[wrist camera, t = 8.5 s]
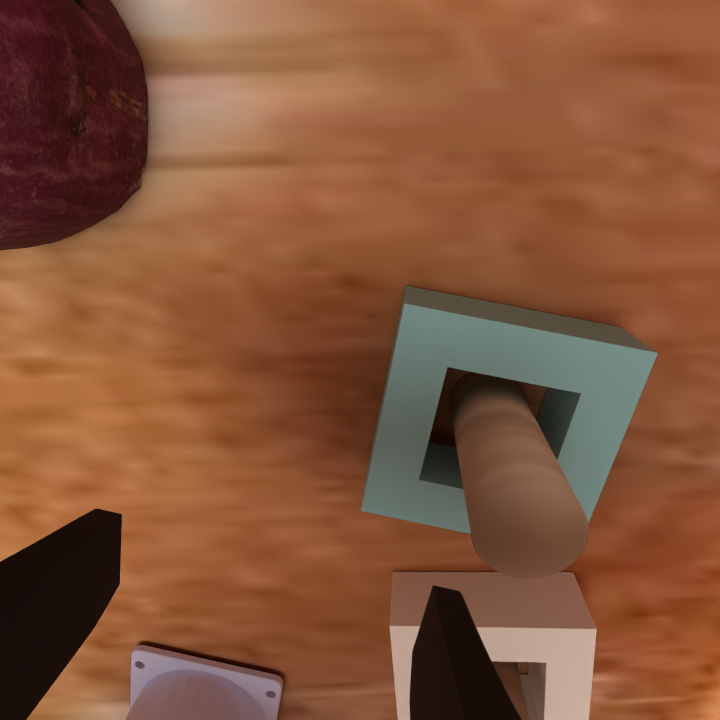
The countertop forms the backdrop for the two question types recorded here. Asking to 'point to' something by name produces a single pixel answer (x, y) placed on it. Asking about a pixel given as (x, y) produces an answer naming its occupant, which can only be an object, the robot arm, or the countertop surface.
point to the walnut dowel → (512, 685)
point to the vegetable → (66, 118)
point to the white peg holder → (508, 634)
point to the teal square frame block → (505, 360)
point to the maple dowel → (513, 482)
